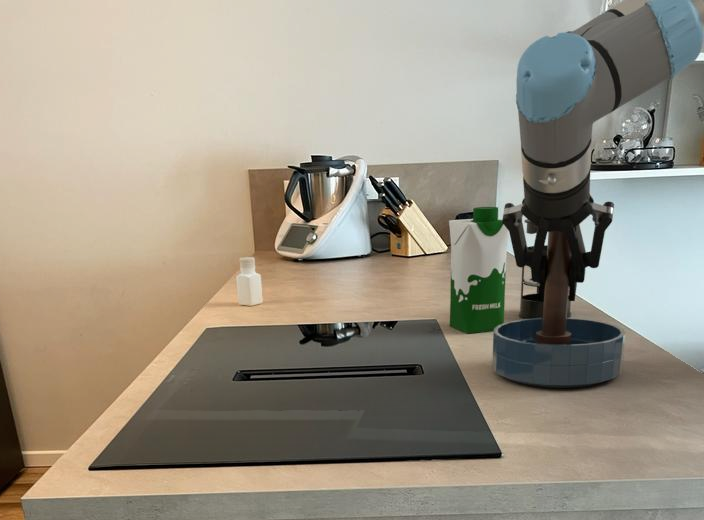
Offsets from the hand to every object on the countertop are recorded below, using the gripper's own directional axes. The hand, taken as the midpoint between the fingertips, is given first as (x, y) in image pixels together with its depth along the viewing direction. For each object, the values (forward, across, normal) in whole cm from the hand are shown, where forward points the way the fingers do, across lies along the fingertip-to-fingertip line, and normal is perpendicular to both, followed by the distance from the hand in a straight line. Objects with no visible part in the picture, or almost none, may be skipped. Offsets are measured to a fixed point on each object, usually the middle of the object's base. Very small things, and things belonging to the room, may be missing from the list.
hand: (558, 292), depth 111 cm
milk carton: (+22, -15, +7) cm, 27 cm away
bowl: (+2, +1, -12) cm, 12 cm away
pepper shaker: (+32, -66, +18) cm, 75 cm away
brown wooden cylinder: (+2, 0, -7) cm, 7 cm away
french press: (+30, -5, +16) cm, 35 cm away
